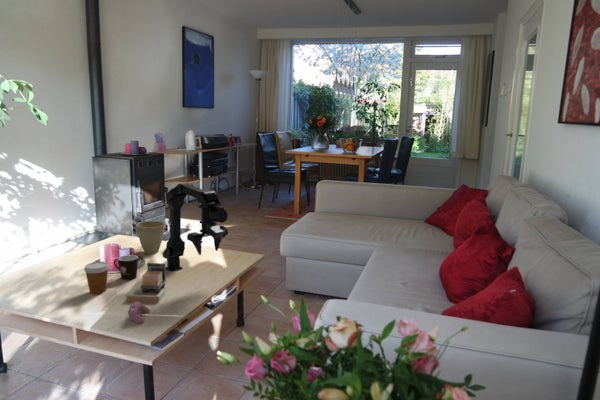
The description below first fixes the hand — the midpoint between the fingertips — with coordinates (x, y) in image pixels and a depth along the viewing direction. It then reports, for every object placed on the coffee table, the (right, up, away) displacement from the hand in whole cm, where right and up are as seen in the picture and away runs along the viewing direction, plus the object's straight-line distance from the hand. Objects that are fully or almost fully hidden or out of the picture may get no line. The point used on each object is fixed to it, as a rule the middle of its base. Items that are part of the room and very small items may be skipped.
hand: (208, 252), depth 197 cm
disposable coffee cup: (-45, -16, -10) cm, 49 cm away
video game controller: (-19, -21, -33) cm, 44 cm away
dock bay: (-22, -17, -16) cm, 32 cm away
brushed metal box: (-22, -15, -7) cm, 28 cm away
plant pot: (-41, -5, +47) cm, 62 cm away
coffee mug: (-39, -13, +7) cm, 42 cm away
